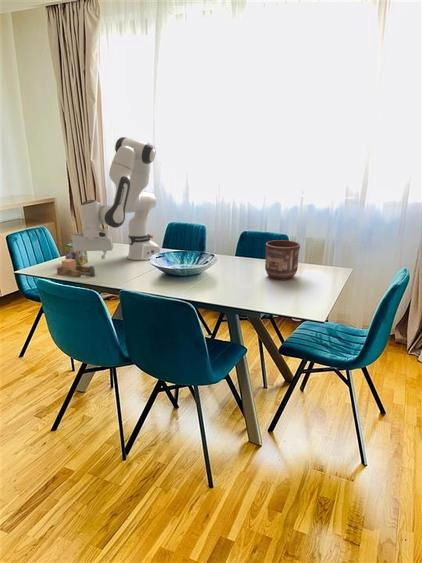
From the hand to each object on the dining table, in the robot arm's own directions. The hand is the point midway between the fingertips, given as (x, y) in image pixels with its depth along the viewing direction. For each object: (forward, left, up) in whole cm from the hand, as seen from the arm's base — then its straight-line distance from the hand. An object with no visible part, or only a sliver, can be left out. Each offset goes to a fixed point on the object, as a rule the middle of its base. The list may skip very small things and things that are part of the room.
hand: (94, 259), depth 216 cm
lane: (+7, -12, -10) cm, 17 cm away
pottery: (-80, +56, -10) cm, 98 cm away
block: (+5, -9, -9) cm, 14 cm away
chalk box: (0, -30, -10) cm, 32 cm away
